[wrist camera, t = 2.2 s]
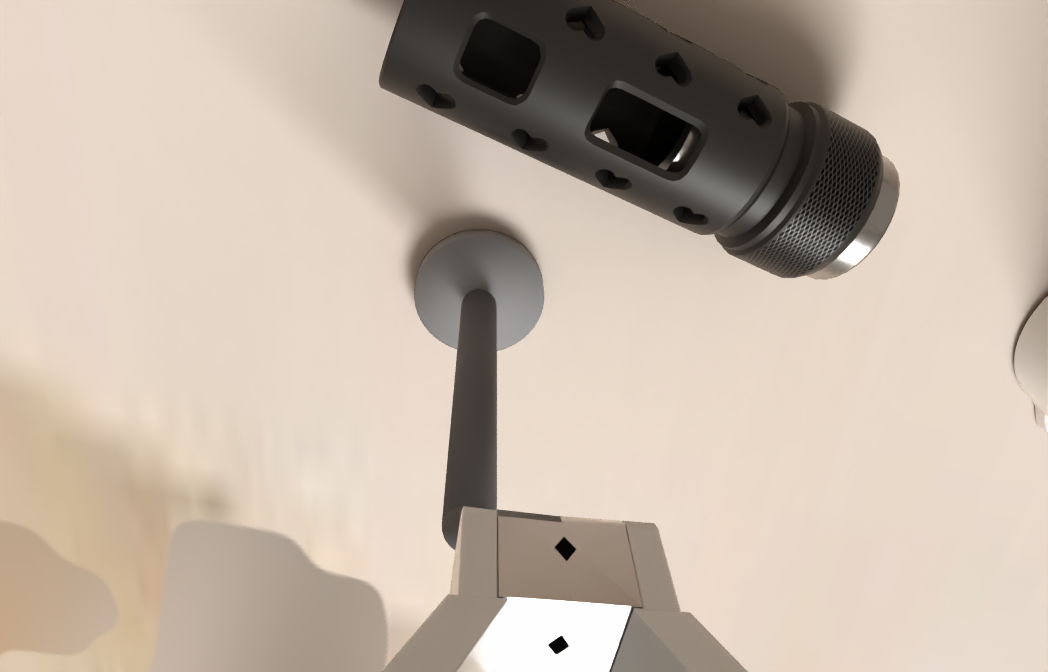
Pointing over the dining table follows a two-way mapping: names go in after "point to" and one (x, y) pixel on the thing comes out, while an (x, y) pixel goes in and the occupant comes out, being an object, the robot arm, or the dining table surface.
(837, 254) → the muzzle brake
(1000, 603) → the dining table surface
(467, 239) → the cord post
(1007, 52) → the dining table surface
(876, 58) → the dining table surface
